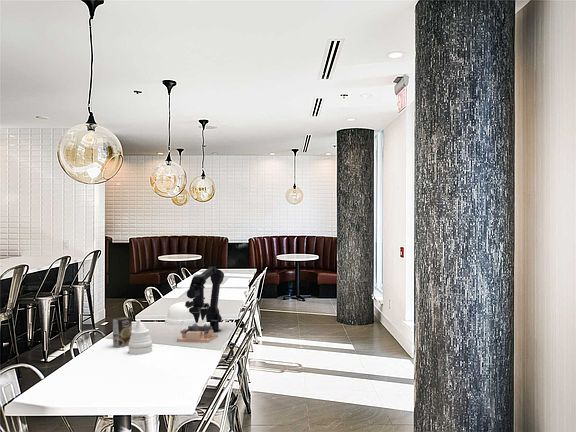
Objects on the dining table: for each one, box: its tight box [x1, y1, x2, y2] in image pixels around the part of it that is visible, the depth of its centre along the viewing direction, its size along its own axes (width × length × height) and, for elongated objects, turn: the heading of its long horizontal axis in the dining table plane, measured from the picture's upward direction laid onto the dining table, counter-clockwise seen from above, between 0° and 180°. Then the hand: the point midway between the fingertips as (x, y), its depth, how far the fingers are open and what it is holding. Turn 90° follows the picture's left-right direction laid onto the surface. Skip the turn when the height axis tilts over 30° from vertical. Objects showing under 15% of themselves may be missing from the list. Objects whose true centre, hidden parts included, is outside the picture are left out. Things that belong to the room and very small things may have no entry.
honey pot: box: [128, 319, 153, 356], centre depth 312 cm, size 13×13×18 cm
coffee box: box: [112, 316, 133, 349], centre depth 328 cm, size 9×6×16 cm
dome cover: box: [164, 300, 208, 327], centre depth 399 cm, size 32×30×14 cm
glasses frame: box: [183, 323, 212, 335], centre depth 341 cm, size 10×15×4 cm
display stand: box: [176, 328, 219, 343], centre depth 341 cm, size 16×20×6 cm
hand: (199, 321), depth 345 cm, fingers open, 9 cm apart
